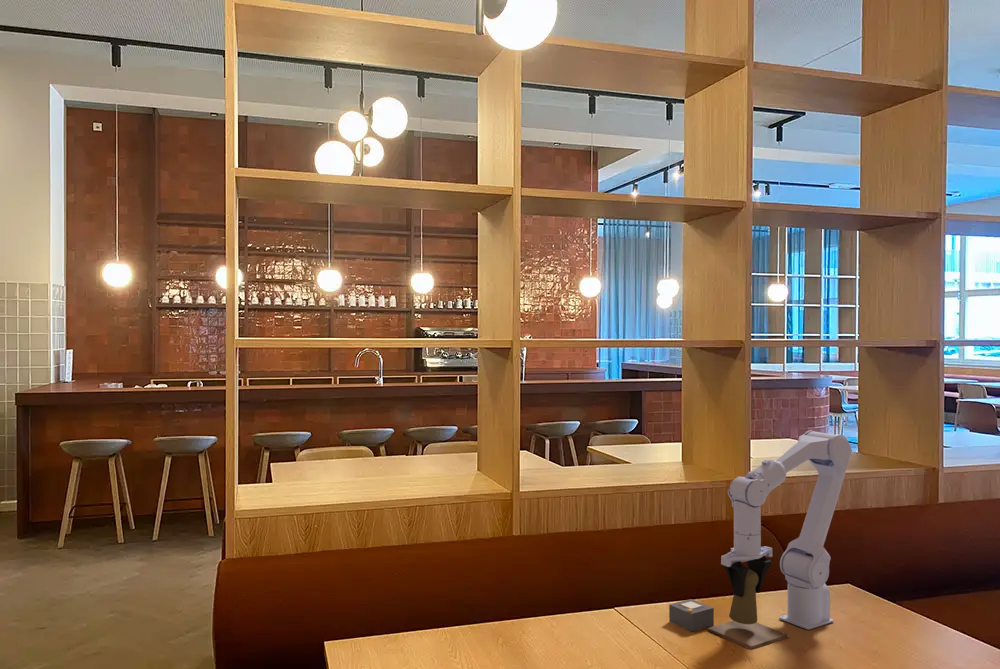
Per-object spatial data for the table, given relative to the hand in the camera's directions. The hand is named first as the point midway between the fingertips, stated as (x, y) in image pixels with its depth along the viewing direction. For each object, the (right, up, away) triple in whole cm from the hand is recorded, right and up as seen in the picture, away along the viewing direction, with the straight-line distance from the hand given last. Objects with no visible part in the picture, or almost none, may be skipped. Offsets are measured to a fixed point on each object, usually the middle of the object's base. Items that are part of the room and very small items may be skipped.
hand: (747, 593), depth 171 cm
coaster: (0, -9, 0) cm, 9 cm away
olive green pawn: (-1, -6, +1) cm, 6 cm away
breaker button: (-11, -8, +6) cm, 15 cm away
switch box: (-11, -9, +6) cm, 15 cm away
